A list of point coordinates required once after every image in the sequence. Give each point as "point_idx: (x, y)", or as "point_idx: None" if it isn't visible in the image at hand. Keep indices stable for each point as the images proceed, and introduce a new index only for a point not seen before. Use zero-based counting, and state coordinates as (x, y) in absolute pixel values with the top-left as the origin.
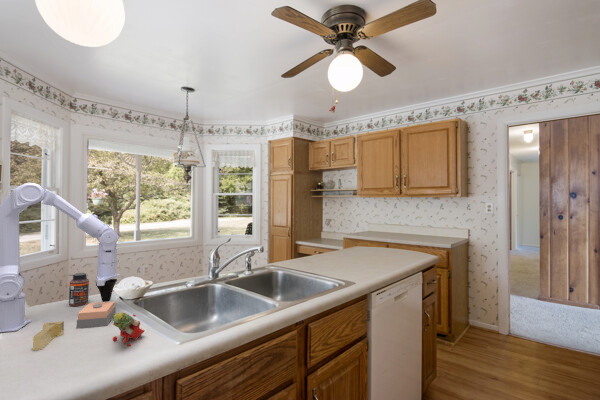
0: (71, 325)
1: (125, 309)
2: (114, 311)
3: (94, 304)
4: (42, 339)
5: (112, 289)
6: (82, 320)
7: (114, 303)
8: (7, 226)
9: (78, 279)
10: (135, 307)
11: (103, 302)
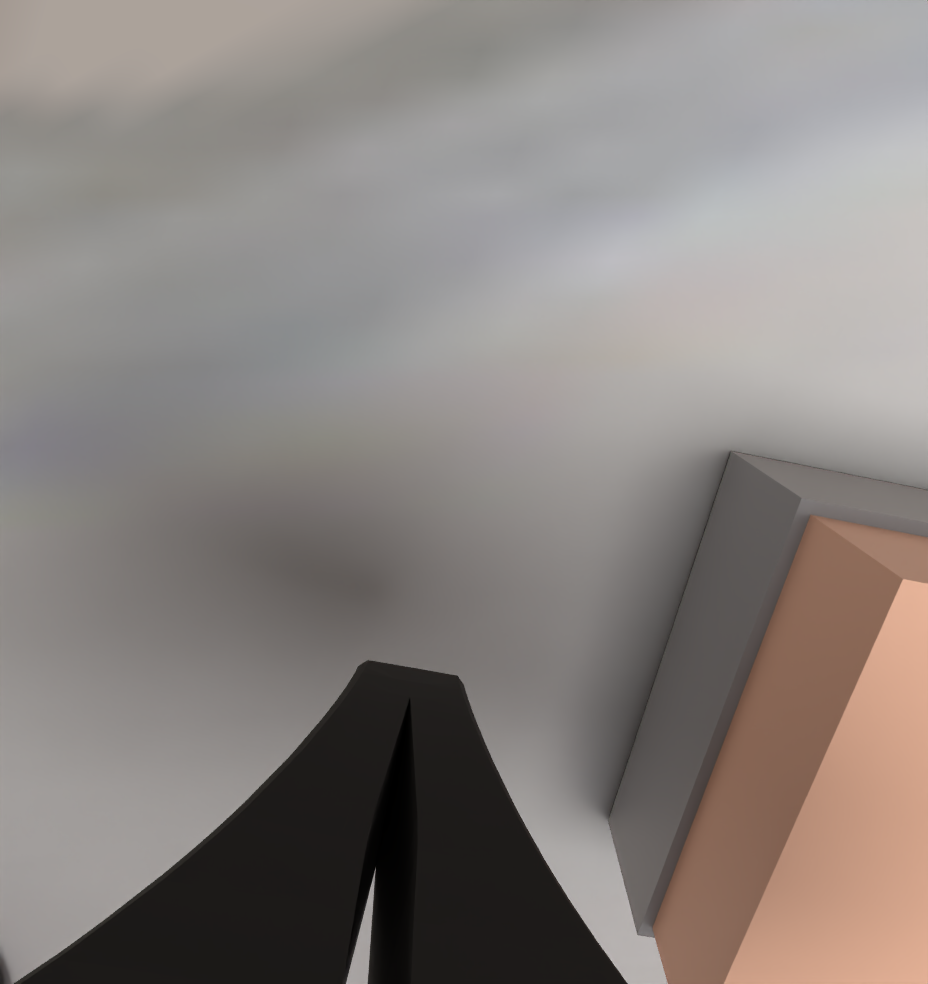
0: None
1: (484, 266)
2: (848, 491)
3: (866, 973)
4: None
5: (319, 867)
6: None
7: (904, 565)
8: None
9: None
10: (429, 30)
11: (807, 825)
